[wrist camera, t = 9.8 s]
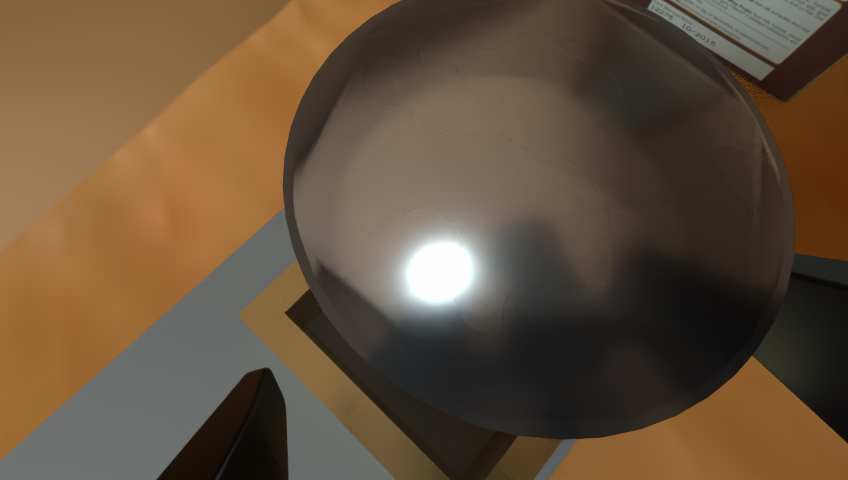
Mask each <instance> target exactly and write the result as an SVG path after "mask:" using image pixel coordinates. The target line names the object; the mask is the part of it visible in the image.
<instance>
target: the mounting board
mask: <svg viewBox="0 0 848 480" xmlns="http://www.w3.org/2000/svg"><path fill="white" fill-rule="evenodd" d="M296 260H297V258H296V255H295V253H294V250H293V247H292V243H291V239H290V234H289V230H288V226H287V222H286V217H285V208H283V209H282V210H281V211H280V212H279V213H278V214H277V215H276V216H274V217H273V218H272V219H271V220H270V221H269V222H268V223H267V224H265V225H264V226H263V227H262V228H261V229H260V230H259V231H258V232H257V233H255V234H254V235H253V236H252V237H251V238H250V239H249V240H248V241H246V242H245V243H244V244H243V245H242V246H241V247H240V248H239V249H237V250H236V251H235V252H234V253H233V254H232V255H231V256H230V257H228V258H227V259H226V260H225V261H224V262H223V263H222V264H221V265H219V266H218V267H217V268H216V269H215V270H214V271H213V272H212V273H210V274H209V275H208V276H207V277H206V278H205V279H204V280H203V281H202V282H200V283H199V284H198V285H197V286H196V287H195V288H194V289H193V290H191V291H190V292H189V293H188V294H187V295H186V296H185V297H184V298H182V299H181V300H180V301H179V302H178V303H177V304H176V305H175V306H173V307H172V308H171V309H170V310H169V311H168V312H167V313H166V314H164V315H163V316H162V317H161V318H160V319H159V320H158V321H157V322H155V323H154V324H153V325H152V326H151V327H150V328H149V329H148V330H147V331H145V332H144V333H143V334H142V335H141V336H140V337H139V338H138V339H136V340H135V341H134V342H133V343H132V344H131V345H130V346H129V347H127V348H126V349H125V350H124V351H123V352H122V353H121V354H120V355H118V356H117V357H116V358H115V359H114V360H113V361H112V362H111V363H109V364H108V365H107V366H106V367H105V368H104V369H103V370H102V371H100V372H99V373H98V374H97V375H96V376H95V377H94V378H93V379H91V380H90V381H89V382H88V383H87V384H86V385H85V386H84V387H83V388H81V389H80V390H79V391H78V392H77V393H76V394H75V395H74V396H72V397H71V398H70V399H69V400H68V401H67V402H66V403H65V404H63V405H62V406H61V407H60V408H59V409H58V410H57V411H56V412H54V413H53V414H52V415H51V416H50V417H49V418H48V419H47V420H45V421H44V422H43V423H42V424H41V425H40V426H39V427H38V428H36V429H35V430H34V431H33V432H32V433H31V434H30V435H29V436H28V437H26V438H25V439H24V440H23V441H22V442H21V443H20V444H19V445H17V446H16V447H15V448H14V449H13V450H12V451H11V452H10V453H8V454H7V455H6V456H5V457H4V458H3V459H2V460H1V461H0V480H156V479H157V478H158V477H159V476H160V474H161V473H162V472H163V471H164V470H165V468H166V467H167V466H168V465H169V464H170V463H171V461H172V460H173V459H174V458H175V457H176V455H177V454H178V453H179V452H180V451H181V450H182V448H183V447H184V446H185V445H186V444H187V442H188V441H189V440H190V439H191V438H192V437H193V435H194V434H195V433H196V432H197V431H198V429H199V428H200V427H201V426H202V425H203V424H204V422H205V421H206V420H207V419H208V418H209V416H210V415H211V414H212V413H213V412H214V411H215V409H216V408H217V407H218V406H219V405H220V403H221V402H222V401H223V400H224V399H225V398H226V396H227V395H228V394H229V393H230V392H231V390H232V389H233V388H234V387H235V386H236V385H237V383H238V382H239V381H240V380H241V379H242V377H243V376H244V375H245V374H246V373H248V372H250V371H254V370H257V369H261V368H264V367H267V368H270V369H271V371H272V372H273V374H274V377H275V379H276V381H277V383H278V386H279V388H280V390H281V392H282V395H283V397H284V400H285V404H286V414H287V442H288V469H289V480H396V479H395V478H394V477H393V476H392V475H391V474H390V473H389V472H388V471H387V470H386V469H385V468H384V467H383V466H382V465H381V464H380V463H379V462H378V461H377V460H376V459H375V457H374V456H373V455H372V454H371V453H370V452H369V451H368V450H367V449H366V448H365V447H364V446H363V445H362V444H361V443H360V442H359V441H358V440H357V439H356V438H355V437H354V436H353V435H352V434H351V433H350V431H349V430H348V429H347V428H346V427H345V426H344V425H343V424H342V423H341V422H340V421H339V420H338V419H337V418H336V417H335V416H334V415H333V414H332V413H331V412H330V411H329V410H328V409H327V408H326V406H325V405H324V404H323V403H322V402H321V401H320V400H319V399H318V398H317V397H316V396H315V395H314V394H313V393H312V392H311V391H310V390H309V389H308V388H307V387H306V386H305V385H304V384H303V383H302V382H301V380H300V379H299V378H298V377H297V376H296V375H295V374H294V373H293V372H292V371H291V370H290V369H289V368H288V367H287V366H286V365H285V364H284V363H283V362H282V361H281V360H280V359H279V358H278V357H277V355H276V354H275V353H274V352H273V351H272V350H271V349H270V348H269V347H268V346H267V345H266V344H265V343H264V342H263V341H262V340H261V339H260V338H259V337H258V336H257V335H256V334H255V333H254V332H253V330H252V329H251V328H250V327H249V326H248V325H247V324H246V323H245V322H244V321H243V320H242V319H241V318H240V317H239V316H238V314H239V313H240V312H241V311H242V310H243V309H245V308H246V307H247V306H248V305H249V304H250V303H251V302H252V301H253V300H254V299H255V298H256V297H257V296H258V295H259V294H260V293H262V292H263V291H264V290H265V289H266V288H267V287H268V286H269V285H270V284H271V283H272V282H273V281H274V280H275V279H276V278H277V277H279V276H280V275H281V274H282V273H283V272H284V271H285V270H286V269H287V268H288V267H289V266H290V265H291V264H292V263H293V262H294V261H296ZM307 327H308V328H309V329H310V330H311V331H312V332H313V333H314V334H315V335H316V336H317V337H318V338H319V339H320V340H321V341H322V342H323V343H324V344H325V345H326V346H327V347H328V348H329V349H330V350H331V351H332V352H333V353H334V354H335V355H336V356H337V357H338V358H339V359H340V360H341V361H342V362H343V363H344V364H345V365H346V366H347V367H348V368H349V369H350V370H351V371H352V372H353V373H354V374H355V375H356V376H357V377H358V378H359V379H360V380H361V381H362V382H363V383H364V384H365V385H366V386H367V387H368V388H369V389H370V390H371V391H372V392H373V393H374V394H375V395H376V396H377V397H378V398H379V399H380V400H381V401H382V402H383V403H384V404H385V405H386V406H387V407H388V408H389V409H390V410H391V411H392V412H393V413H394V414H395V415H396V416H397V417H398V418H399V419H400V420H401V421H402V422H403V423H404V424H405V425H406V426H407V427H408V428H409V429H410V430H411V431H412V432H413V433H414V434H415V435H416V436H417V437H418V438H419V439H420V440H421V441H422V442H423V443H424V444H425V445H426V446H427V447H428V448H429V449H430V450H431V451H432V452H433V453H434V454H435V455H436V456H437V457H438V458H439V459H440V460H441V461H442V462H443V463H444V464H445V465H446V466H447V467H448V468H449V469H450V470H451V471H452V472H453V473H454V474H455V475H456V476H457V477H458V478H460V477H461V476H462V475H463V473H464V472H465V471H466V469H467V468H468V467H469V466H470V464H471V463H472V462H473V460H474V459H475V458H476V457H477V455H478V454H479V453H480V451H481V450H482V449H483V448H484V446H485V445H486V444H487V442H488V441H489V440H490V439H491V437H492V436H493V435H494V434H495V432H496V430H492V429H487V428H483V427H479V426H477V425H474V424H472V423H469V422H466V421H464V420H461V419H458V418H456V417H453V416H451V415H448V414H445V413H443V412H441V411H439V410H437V409H435V408H433V407H432V406H430V405H428V404H426V403H424V402H422V401H421V400H419V399H417V398H415V397H413V396H411V395H410V394H408V393H406V392H405V391H403V390H402V389H401V388H399V387H398V386H397V385H395V384H394V383H393V382H391V381H390V380H388V379H387V378H386V377H384V376H383V375H382V374H380V373H379V372H378V371H376V370H375V369H374V368H373V367H372V366H371V365H370V364H369V363H368V362H367V361H366V360H365V359H363V358H362V357H361V356H360V355H359V354H358V353H357V352H356V351H355V350H354V349H353V348H352V347H351V346H350V345H349V344H348V343H347V342H346V341H345V339H344V338H343V337H342V336H341V334H340V333H339V332H338V330H337V329H336V328H335V327H334V325H333V324H332V323H331V321H330V320H329V319H328V317H327V316H326V315H325V314H324V312H323V311H322V312H321V313H320V314H319V315H318V316H317V317H316V318H315V319H314V320H313V321H312V322H311V323H310V324H309V325H308V326H307ZM576 440H577V439H566V440H562V442H561V443H560V444H559V446H558V447H557V449H556V450H555V451H554V453H553V454H552V455H551V457H550V458H549V460H548V461H547V462H546V464H545V465H544V466H543V468H542V469H541V471H540V472H539V473H538V475H537V476H536V477H535V479H534V480H548V479H549V478H550V476H551V475H552V474H553V472H554V471H555V469H556V468H557V467H558V465H559V464H560V462H561V461H562V460H563V458H564V457H565V455H566V454H567V453H568V451H569V450H570V448H571V447H572V446H573V444H574V443H575V441H576Z"/></svg>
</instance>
